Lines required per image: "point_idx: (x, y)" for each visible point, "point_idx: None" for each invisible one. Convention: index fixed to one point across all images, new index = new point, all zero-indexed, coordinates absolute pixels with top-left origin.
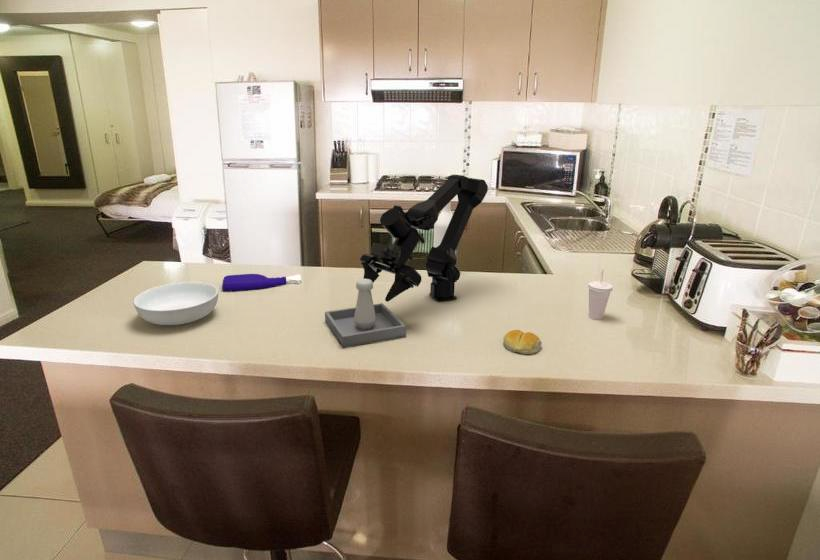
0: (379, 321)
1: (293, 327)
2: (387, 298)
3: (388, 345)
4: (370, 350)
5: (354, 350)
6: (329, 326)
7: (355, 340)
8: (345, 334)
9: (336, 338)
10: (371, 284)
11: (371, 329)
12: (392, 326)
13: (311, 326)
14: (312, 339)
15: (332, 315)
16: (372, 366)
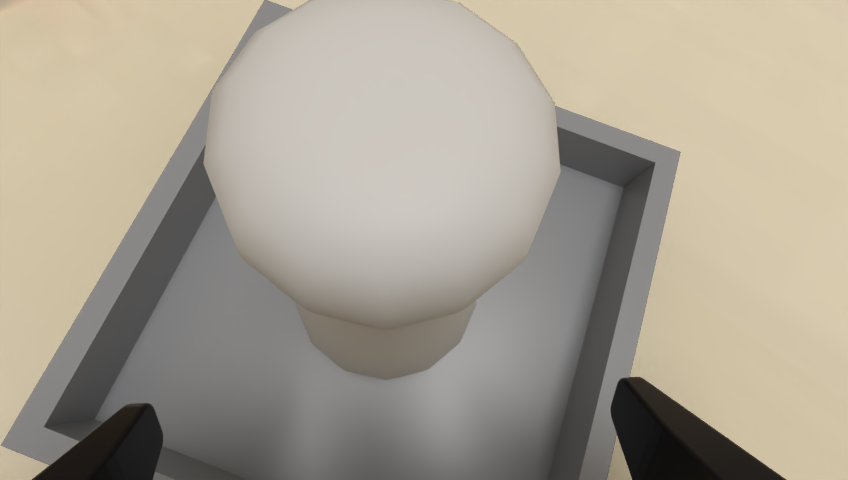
0: (387, 444)
1: (672, 30)
2: (102, 428)
3: (92, 248)
4: (140, 132)
5: (214, 75)
6: None
7: None
8: None
9: None
10: (213, 188)
11: None
12: (241, 458)
13: (629, 97)
14: (481, 13)
15: (633, 197)
16: (6, 28)
